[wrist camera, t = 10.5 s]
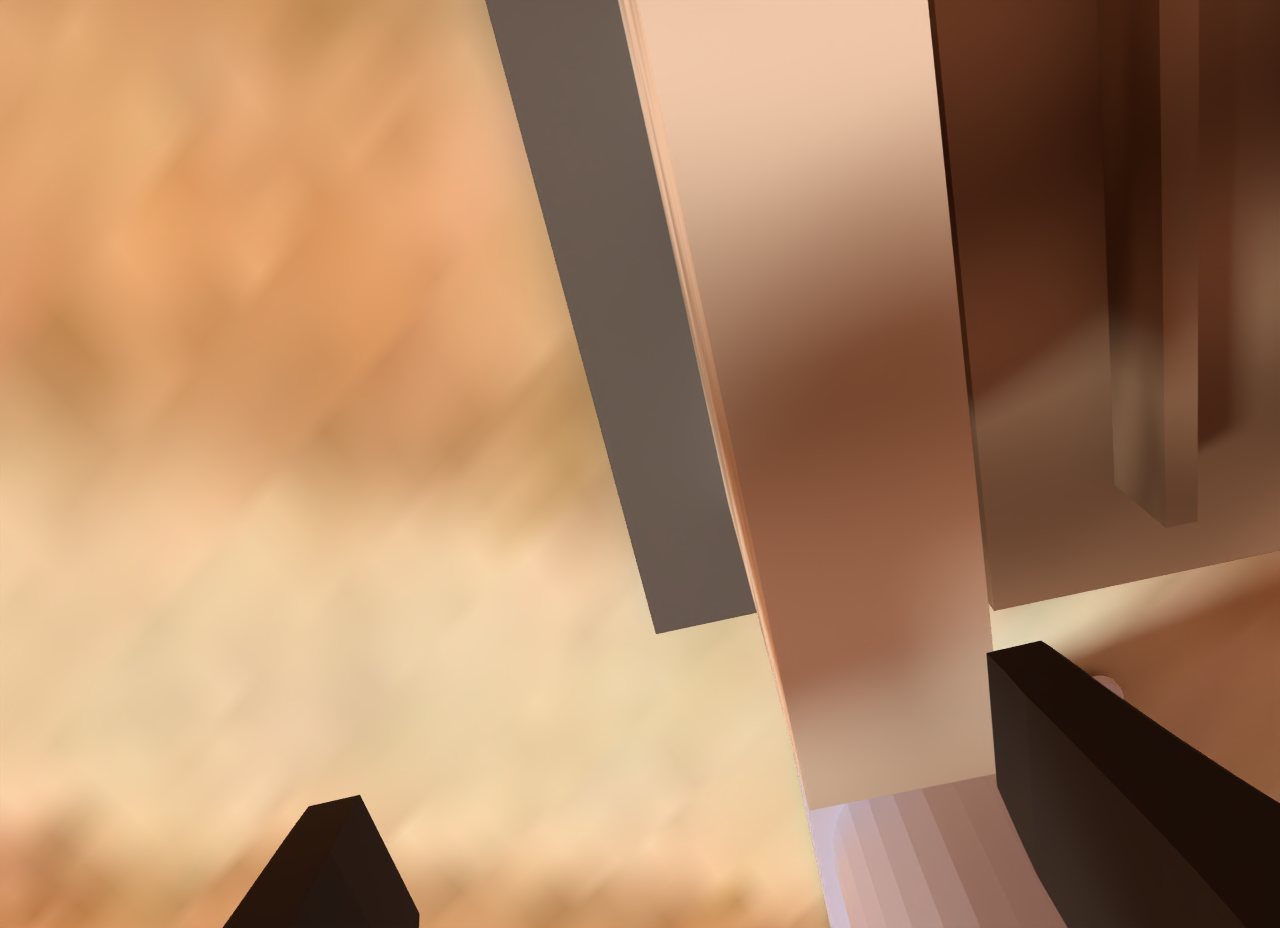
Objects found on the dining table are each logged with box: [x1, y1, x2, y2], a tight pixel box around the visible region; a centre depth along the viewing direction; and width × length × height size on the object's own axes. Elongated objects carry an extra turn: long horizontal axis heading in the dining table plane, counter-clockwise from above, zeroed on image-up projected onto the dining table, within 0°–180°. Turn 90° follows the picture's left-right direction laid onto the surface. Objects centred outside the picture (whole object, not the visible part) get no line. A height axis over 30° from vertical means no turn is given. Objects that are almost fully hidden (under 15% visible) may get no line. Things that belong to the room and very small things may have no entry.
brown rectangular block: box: [618, 0, 996, 811], centre depth 14 cm, size 10×2×9 cm, turn 13°
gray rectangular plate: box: [485, 0, 757, 634], centre depth 18 cm, size 16×7×1 cm, turn 13°
